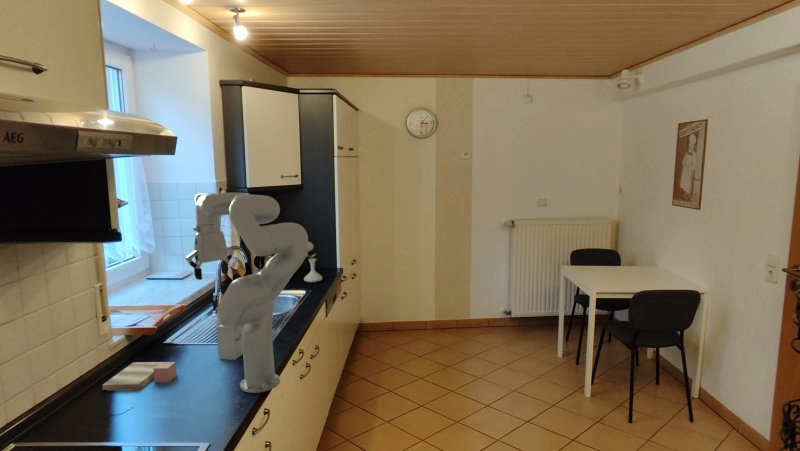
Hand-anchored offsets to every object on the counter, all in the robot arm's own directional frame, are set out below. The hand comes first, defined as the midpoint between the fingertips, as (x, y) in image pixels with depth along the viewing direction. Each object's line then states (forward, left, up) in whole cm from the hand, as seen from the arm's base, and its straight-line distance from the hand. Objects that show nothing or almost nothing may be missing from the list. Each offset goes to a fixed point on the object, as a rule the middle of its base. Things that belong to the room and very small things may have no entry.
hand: (212, 276), depth 165 cm
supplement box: (+5, -6, -33) cm, 34 cm away
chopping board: (+7, +26, -33) cm, 43 cm away
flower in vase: (+88, -80, -33) cm, 124 cm away
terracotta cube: (0, +18, -33) cm, 38 cm away
